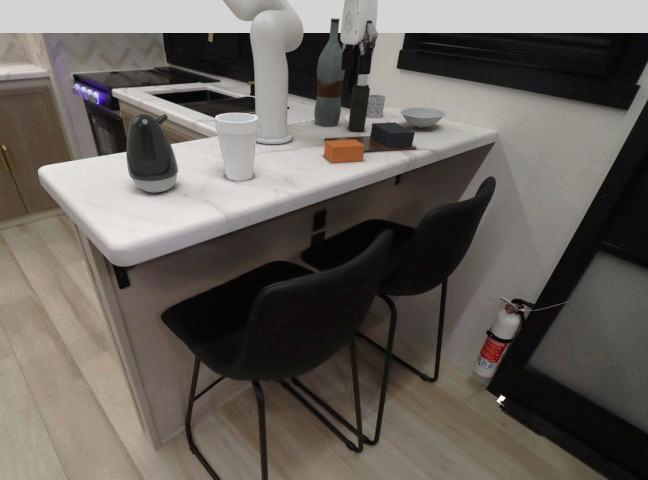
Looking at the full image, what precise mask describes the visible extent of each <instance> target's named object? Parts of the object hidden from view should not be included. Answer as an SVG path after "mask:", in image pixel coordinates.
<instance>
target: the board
mask: <svg viewBox="0 0 648 480" xmlns="http://www.w3.org/2000/svg"><path fill="white" fill-rule="evenodd" d="M336 140H357V141H359V142H360V143H361V144H363V145H364V146H365V147H364V153H376V152H377V153H378V152H392V151H393V152H394V151H410V150H411V151H412V150H417V146H415V145H413V144H412V146H410V147H393V148H387V147H386V146H384V145H383V144H381V143H379V142H378V141H376V140H375V139H373V138H371V137H370V135H364V136H361V135H360V136H342V137H339V136H338V137H325V138H324V142H325V141H336Z"/></svg>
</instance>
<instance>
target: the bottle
mask: <svg viewBox="0 0 648 480" xmlns="http://www.w3.org/2000/svg"><path fill="white" fill-rule="evenodd" d="M339 28H340V18H335V17H334V18H333V17H332V18H330V29H329V30H330V31H329V40H328V41H327V43H326V44H325V46H324V48H323V50H322V51H321V53H320V55H319V57H318V61H317V67H316V84H317V85H316V86H317V87H316V91H317V92H316V94H317V95H316V98H315V99H316V100H315V105H314V113H313V115H314V123H315V125H316V126H320V127H325V128H326V127H329V128H331V127H332V128H333V127H337V126H338V124H339V122H340V118H341V114H342V113H341V112H342V105H341V104H342V101H341V100H342V99H341V96H342V90H343V83H344V78H345V73H346V70H341V62H342V46H341V44H340V42H339V30H340V29H339Z"/></svg>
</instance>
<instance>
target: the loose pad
mask: <svg viewBox="0 0 648 480" xmlns="http://www.w3.org/2000/svg"><path fill="white" fill-rule="evenodd" d="M364 147H365V146H364V145H363V144H361V143H360V142H359V141H357V140H336V141H325V140H324V153H323V156H324V157H325V158H326V159H327V160H328V161H329V162H330V163H331V164H336V163H350V162H363V160H364V153H365V152H364Z"/></svg>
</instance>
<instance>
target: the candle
mask: <svg viewBox="0 0 648 480" xmlns="http://www.w3.org/2000/svg"><path fill="white" fill-rule="evenodd" d="M368 77H369V74H364V75H359V74H357V83H354V85H353V86H352V93H351V101H350V108H349V109H350V110H349V117H348V127H347V129H348V131H349V132H352V133H364V132H365V127H366V120H367V116H366V114H367V107H368V100H369V95H370V94H371V93H370V92H371V88H370V85H369V84H367V83H368Z"/></svg>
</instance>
